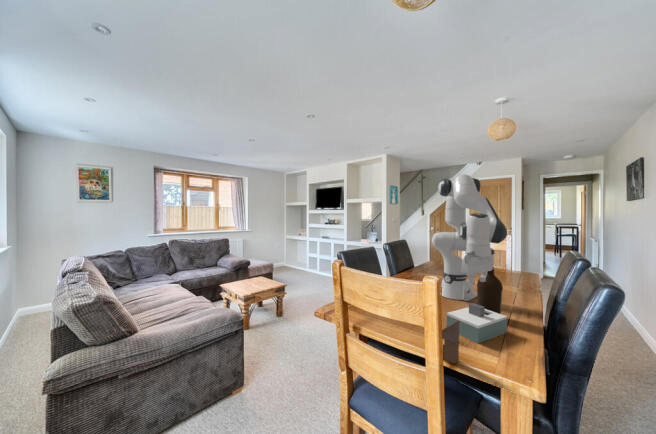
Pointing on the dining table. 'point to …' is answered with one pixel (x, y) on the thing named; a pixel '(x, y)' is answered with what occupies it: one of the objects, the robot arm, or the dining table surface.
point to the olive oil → (490, 292)
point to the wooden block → (451, 343)
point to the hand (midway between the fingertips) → (477, 283)
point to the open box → (479, 330)
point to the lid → (476, 316)
